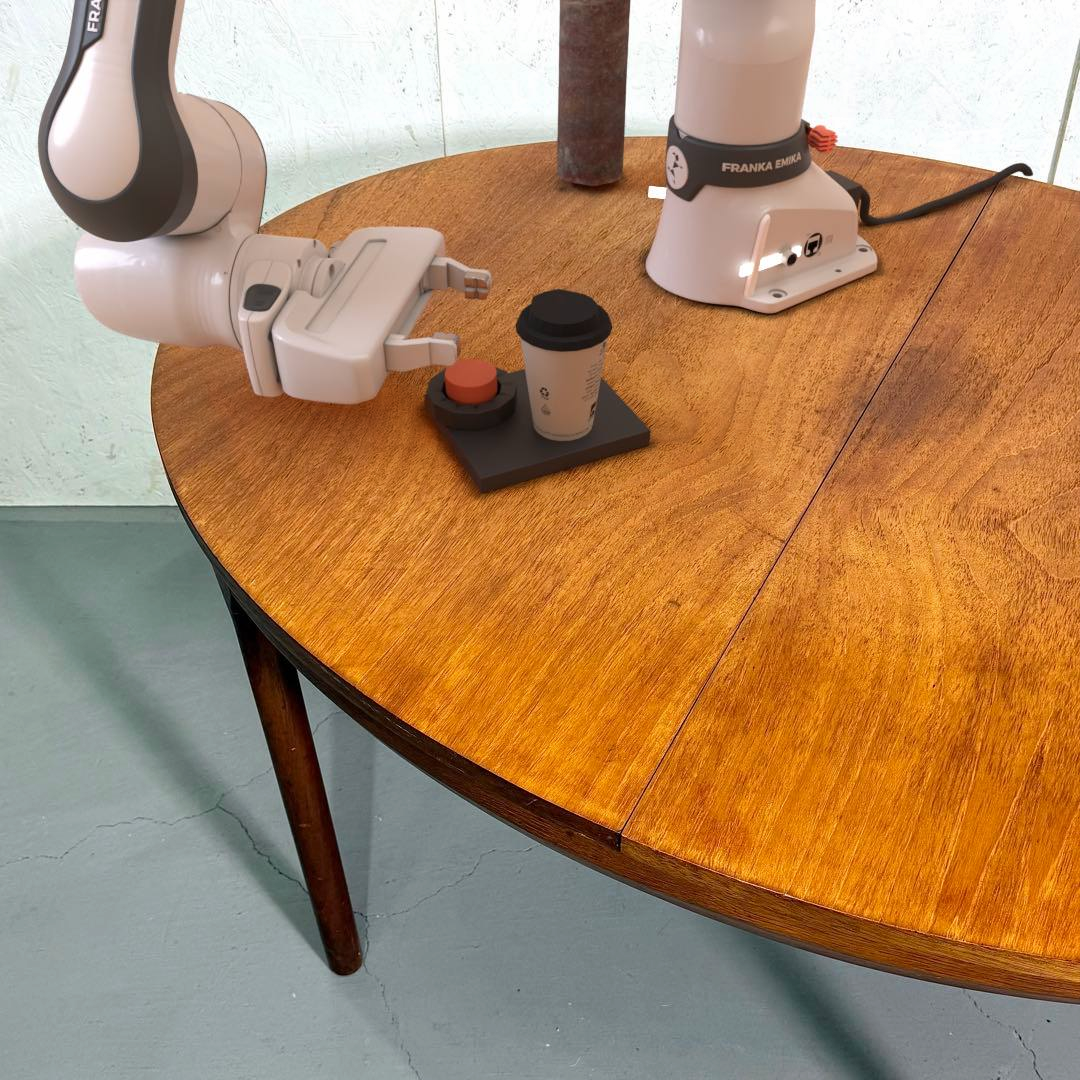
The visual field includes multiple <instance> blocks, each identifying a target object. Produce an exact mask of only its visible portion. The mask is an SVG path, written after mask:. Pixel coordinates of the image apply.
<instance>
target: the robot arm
mask: <svg viewBox="0 0 1080 1080" xmlns="http://www.w3.org/2000/svg"><path fill="white" fill-rule="evenodd" d="M816 1H817V0H681V16H680V17H681V19H680V34H679V37H680V38H679V46H678V47H679V48H678V60H677V74H676V87H675V98H674V100H675V101H674V111H673V112H674V113H673V114H672V115H671V116H670V118H669V121H668V128H667V130H668V131H667V137H666V147H665V148H666V149H665V169H664V170H665V172H664V173H665V187H660V186H652V185H651V186H648V198H655V199H663V203H662V209H661V211H660V217H659V220H658V225H657V228H656V232H655V235H654V239H653V242H652V245H651V248H650V249H649V253H648V255H647V257H646V260H645V270H646V273H647V275H648V276H649V278H650V279H651V280H652V281H653V282H654V283H655V284H656V285H658V286H659V287H661V288H662V289H664V290H665V291H667V292H669V293H671V294H674V295H676V296H679V297H681V298H685V299H688V300H690V301H695V302H699V303H700V302H701V303H705V304H711V305H713V304H714V305H723V306H735V307H740V308H744V309H747V310H751V311H755V312H759V313H763V314H774V313H778V312H781V311H783V310H786V309H788V308H791V307H792V306H795V305H798V304H800V303H802V302H805V301H807V300H809V299H812V298H814V297H817V296H820V295H822V294H824V293H826V292H828V291H831V290H833V289H836V288H838V287H840V286H843V285H846V284H848V283H850V282H853V281H855V280H858V279H860V278H862V277H864V276H867V275H869V274H871V273H873V272H876V271H877V268H878V255H877V253H876V252H875V250H874V249H873V247H872V246H871V245H870V244H869V243H868V241H866V240H865V239H864V238H863V237H862V236H860V235H859V234H858V233H859V232H858V231H859V219H860V220H861V222H862V223H863V224H865V225H867V226H871V227H873V226H880V225H886V224H891V223H896V222H903V221H907V220H911V219H914V218H917V217H920V216H922V215H924V214H927V213H929V212H932V211H935V210H938V209H942V208H944V207H948V206H950V205H952V204H955V203H957V202H960V201H963V200H964V199H967V198H968V197H970V196H973V195H975V194H977V193H980V192H981V191H984V190H987V189H988V188H991V187H993V186H995V185H997V184H999V183H1000V182H1002V181H1004V180H1005V179H1007V178H1008V177H1011V176H1012V175H1014V174H1016V173H1022V175H1023V176H1024V177H1033V176H1034V172H1033V169H1032V168H1031V167H1030V166H1029V165H1028V164H1027V163H1025V162H1017V163H1013V164H1011V165H1009V166H1006V167H1005V168H1003V169H1002V170H1001V171H999V172H997V173H995V174H993V175H992V176H991V177H988V178H986V179H984V180H983V179H982V180H981V181H978V182H976V183H973V184H971V185H969V186H966V187H965V188H963V189H960V190H959V191H957V192H954V193H951V194H949V195H945V196H943V197H941V198H937V199H934V200H931V201H928V202H925V203H923V204H921V205H918V206H915V207H914V208H911V209H908V210H906V211H904V212H901V213H898V214H897V215H894V216H893V215H892V216H890V217H889V216H888V217H884V218H878V217H874V216H872V215H870V207H871V196H870V194H869V192H868V191H867V190H866V188H865V187H863V184H861V183H859V182H857V181H855V180H852V179H850V178H848V177H846V176H844V175H843V174H840V173H838V172H835V171H833V170H832V169H830V170H827V171H824V170H823V169H822V168H821V167H820V166H819V165H817V163H815V162H814V161H813V160H812V155H811V150H810V147H811V148H812V149H815V150H816V151H817V152H819V153H820V154H822V155H827V154H830V153H831V152H833V151H834V148H836V147H837V144H836V143H838V142H839V141H838V140H839V139H838V138H839V137H838V135H837V132H835V131H834V130H832V129H828V128H827V127H826V126H825V125H822V124H818V125H815V126H814V127H812V126H811V123H810V122H809V121H806V120H805V119H804V118H802V116H803V111H804V102H805V97H806V90H807V85H808V77H809V71H810V64H811V58H812V51H813V44H814V39H815V33H816V32H815V31H816V3H817V2H816ZM185 5H186V0H74V3H73V9H72V17H71V21H70V22H71V23H70V29H69V36H68V41H67V46H66V50H65V54H64V58H63V61H62V64H61V68H60V70H59V73H58V75H57V78H56V79H55V82H54V84H53V87H52V89H51V92H50V94H49V96H48V98H47V100H46V102H45V105H44V107H43V111H42V114H41V118H40V122H39V126H38V131H37V132H38V134H37V152H38V153H37V154H38V161H39V165H40V170H41V173H42V176H43V179H44V181H45V184H46V186H47V188H48V189H47V190H49V193H50V194H51V196H52V197H53V200H54V201H55V202H56V204H57V206H59V208H60V209H61V211H62V212H63V213H64V214H65V215H66V216H67V217H68V218H69V219H70V220H71V221H72V222H73V223H74V224H75V225H77V227H79V228H81V229H82V230H83V231H85V233H83V234H82V235H81V237H80V238H79V239H78V241H77V242H76V246H75V249H74V253H73V276H74V281H75V285H76V288H77V289H76V290H77V291H78V294H79V297H80V299H81V301H82V303H83V305H84V306H85V309H86V310H87V311H88V312H89V313H90V315H92V317H93V318H94V319H95V320H96V321H98V323H100V324H101V325H102V326H104V327H106V328H107V329H108V330H110V331H112V332H115V333H118V334H120V335H123V336H126V337H130V338H132V339H133V338H134V339H136V340H137V339H138V340H141V341H146V342H151V343H156V344H162V345H167V346H174V347H182V348H190V349H206V348H207V349H208V348H212V347H228V348H231V349H233V350H236V351H238V352H241V353H243V357H244V360H245V365H246V368H247V372H248V376H249V379H250V384H251V386H252V389H253V393H254V394H255V395H256V396H260V397H264V398H277V397H280V396H281V395H283V394H284V393H285V394H286V395H287V396H289V397H291V398H294V399H296V400H297V399H298V400H303V401H309V402H317V403H323V404H324V403H325V404H337V405H358V404H362V403H364V402H368V401H371V400H373V399H375V398H376V397H377V395H378V393H379V392H380V390H381V388H382V386H383V384H384V382H385V381H386V379H387V378H388V375H389V374H390V372H399V373H405V372H409V371H414V370H417V369H422V368H425V367H429V366H431V365H433V366H444V367H449V366H453V365H454V364H455V363H456V362H457V361H458V359H459V356H460V355H461V351H462V348H461V338H460V336H459V335H458V334H456V333H454V332H449V333H446V332H444V331H434V333H433V334H432V336H427V337H419V338H410V336H411V334H412V332H413V331H414V329H415V327H416V325H417V324H418V322H419V320H420V318H421V316H423V313H424V311H425V309H426V308H427V306H428V305H429V303H430V301H431V299H432V297H433V295H434V293H435V291H448V290H449V288H450V289H453V290H457V291H459V292H462V293H464V299H467V300H468V299H469V300H476V299H477V300H480V301H484V300H486V299H487V298H488V296H489V294H490V292H491V291H492V287H493V283H492V281H493V280H492V273H491V271H489V270H488V269H482V268H481V269H480V268H472V267H468V266H467V265H465V264H463V263H461V262H459V261H458V260H455V259H453V258H452V257H447V253H446V252H447V251H446V239H445V236H444V234H443V233H442V232H441V231H438V230H436V229H434V228H431V227H422V226H421V227H420V226H368V227H367V226H366V227H362V228H358V229H356V230H353V231H351V232H350V233H349V234H348V236H347V237H346V238H344V240H336V241H335V242H333V243H332V244H331V245H330V246H329V248H327V247H326V245H325V244H324V242H322V241H321V240H319V239H317V238H309V237H299V236H297V237H296V236H288V235H287V236H286V235H274V234H266V233H259V232H260V229H261V224H262V217H263V212H264V204H265V199H266V198H265V197H266V189H267V179H268V162H267V156H266V151H265V148H264V144H263V143H262V140H261V138H260V136H259V134H258V132H257V131H256V129H255V127H254V126H253V125H252V123H251V122H250V121H249V120H248V119H247V117H245V115H244V114H242V113H241V112H240V111H239V110H237V109H236V108H234V107H233V106H231V105H229V104H227V103H225V102H223V101H219V100H214V99H211V98H207V97H203V96H199V95H196V94H192V93H183V92H181V91H178V88H177V84H176V75H175V74H176V73H175V71H176V70H175V69H176V62H177V56H178V49H179V43H180V37H181V30H182V23H183V17H184V12H185ZM858 211H859V213H858ZM858 214H859V215H858ZM409 338H410V339H409Z"/></svg>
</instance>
